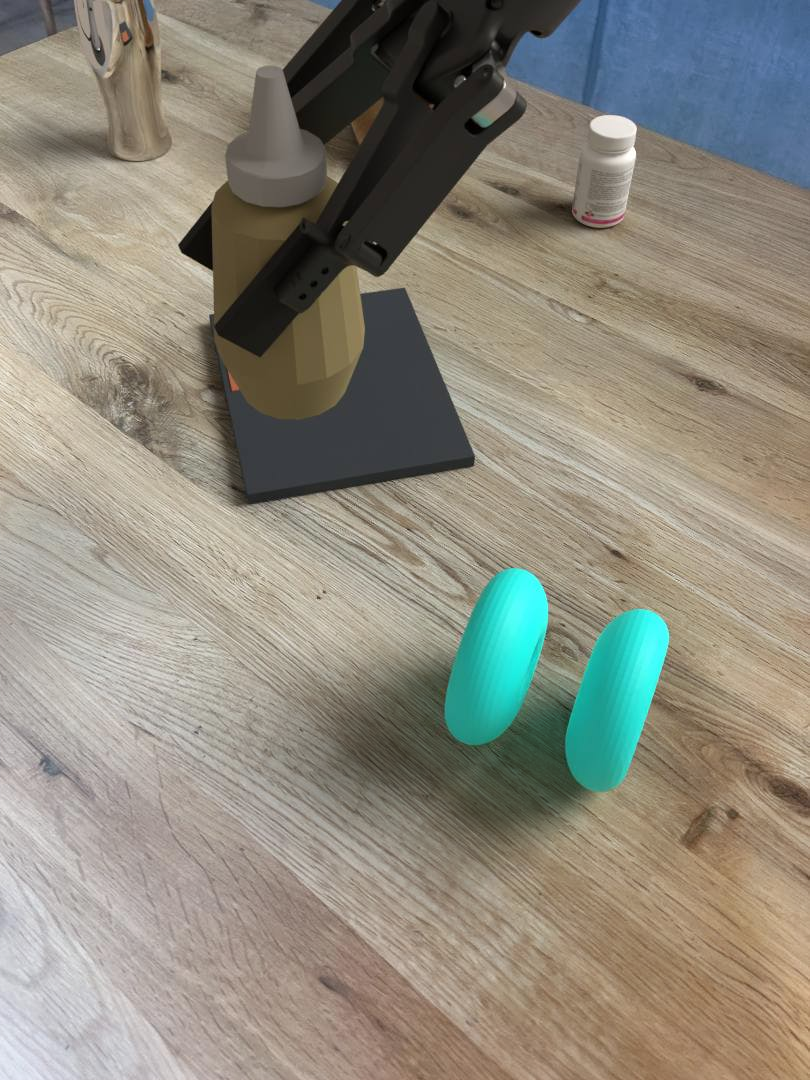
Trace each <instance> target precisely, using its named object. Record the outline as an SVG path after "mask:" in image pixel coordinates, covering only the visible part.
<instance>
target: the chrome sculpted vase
mask: <svg viewBox="0 0 810 1080" xmlns="http://www.w3.org/2000/svg"><path fill="white" fill-rule="evenodd" d="M73 6H74V14H75V21H76V25H77V26H76V27H77V31H78V36H79V41H80V45H81V49H82V52H83V55H84V58H85V61H86V64H87V67H88V69H89V71H90V74H91V77H92V79H93V82H94V85H95V87H96V89H97V92H98V94H99V97H100V99H101V103H102V105H103V110H104V113H105V118H106V126H107V127H106V128H107V133H106V135H107V149H108V151H109V152H110V154H111V155H113V156H114V157H115V158H118V159H120V160H123V161H129V162H144V161H150V160H154V159H157V158H160V157H162V156H163V155H165V154H167V152H169V150H170V149H171V147H172V145H173V137H172V135H171V132H170V129H169V126H168V124H167V121H166V118H165V114H164V110H163V101H162V44H161V43H162V41H161V33H160V26H159V21H158V16H157V11H156V7H155V6H156V5H155V3H154V0H73Z"/></svg>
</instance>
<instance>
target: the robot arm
mask: <svg viewBox="0 0 810 1080" xmlns="http://www.w3.org/2000/svg"><path fill="white" fill-rule="evenodd" d="M581 2H582V0H340V1H339V2H338V4H337V5H336V6H335V7H334V8H333V9H332V10H331V12H330V13H329V14H328V15H327V16H326V17H325V19H324V20H323V22H321V24H320V25H319V26H318V27H317V28H316V29H315V31H314V32H313V33H312V34H311V36H309V38H308V39H307V40H306V42H304V44H303V45H302V46H301V47H300V48H299V49H298V51H297V52H296V53H295V54H294V55H293V57H291V59H290V60H289V61H288V62H287V64H286V65H285V66H284V67H283V68H282V70H283V73H284V76H285V80H286V83H287V87H288V90H289V94H290V97H291V101H292V104H293V108H294V111H295V114H296V118H297V121H298V125H299V128H300V129H302V130H306V131H308V132H310V133H311V134H313V135H315V136H316V137H318V138H319V139H320V140H321V141H322V143H323V145H324V146H325V145H326V144H328V143H329V142H330V141H331V140H333V139H334V138H335V137H337V136H338V135H339V134H340V133H341V132H342V131H343V130H345V129H346V128H347V127H349V126H350V125H351V123H352V122H353V121H354V120H355V119H357V118H358V117H359V116H360V115H362V114H363V113H364V112H365V111H366V110H368V109H369V108H370V107H371V106H373V105H374V104H375V103H376V102H377V101H379V100H380V99H381V98H382V97H383V99H384V103H383V105H382V107H381V109H380V111H379V112H378V114H377V116H376V118H375V119H374V121H373V123H372V125H371V127H370V128H369V130H368V132H367V134H366V135H365V137H364V139H363V141H362V142H361V144H360V145H359V146H358V147H357V150H356V151H355V153H354V155H353V157H352V158H351V160H350V161H349V164H348V165H347V167H346V169H345V170H344V172H343V174H342V176H341V178H340V179H339V181H338V185H337V187H336V188H335V190H334V192H333V194H332V195H331V197H330V199H329V201H328V202H327V204H326V206H325V208H324V210H323V211H322V213H321V215H320V217H319V218H318V220H317V222H316V224H315V223H313V222H311V221H309V220H307V219H305V218H302V220H301V223H300V224H299V225H298V226H297V227H296V229H295V230H294V231H293V232H292V233H291V235H290V236H289V237H288V238H287V239H286V241H285V242H284V243H283V244H282V245H281V247H280V248H279V249H278V250H277V251H276V253H275V254H274V255H273V256H272V257H271V258H270V260H269V261H268V262H267V263H266V264H265V266H264V267H263V268H262V269H261V270H260V272H259V273H258V274H257V275H256V276H255V278H254V279H253V280H252V281H251V282H250V284H249V285H248V286H247V287H246V288H245V290H244V291H243V292H242V293H241V294H240V295H239V297H238V298H237V299H236V300H235V301H234V303H233V304H232V305H231V306H230V307H229V309H228V310H227V311H226V312H225V313H224V315H223V316H222V317H221V318H220V319H219V321H218V322H217V323H216V324H215V325H214V327H215V330H216V332H217V334H218V336H220V337H222V338H224V339H226V340H228V341H230V342H232V343H234V344H235V345H237V346H239V347H241V348H243V349H245V350H247V351H249V352H251V353H252V354H254V355H256V356H258V357H261V356H262V355H263V354H264V353H265V352H266V351H267V349H268V348H269V347H270V346H271V345H272V344H273V343H274V341H275V340H276V339H277V338H278V337H279V336H280V335H281V333H282V332H283V331H284V330H285V329H286V328H287V327H288V325H289V324H290V323H291V322H292V321H293V320H294V319H295V317H296V316H297V315H298V314H299V313H300V314H301V313H303V312H304V311H306V310H307V309H309V308H310V307H311V306H312V304H313V303H314V302H315V301H316V299H318V298H319V296H320V295H321V294H322V292H324V291H325V290H326V288H327V287H328V286H329V285H330V284H331V283H332V282H333V280H334V279H335V278H336V277H337V276H338V275H339V274H340V272H341V271H342V270H343V269H345V268H346V267H348V266H352V265H354V266H357V268H359V269H361V270H363V271H365V272H367V273H368V274H370V275H372V276H373V277H375V278H379V277H381V276H383V275H385V274H386V273H387V271H388V270H389V269H390V268H391V267H392V265H393V264H394V263H395V261H396V260H398V258H399V257H400V255H401V253H403V252H404V250H405V249H406V248H407V246H408V245H409V244H410V243H411V241H413V239H414V238H415V237H416V235H417V234H418V233H419V231H420V230H421V229H422V228H423V226H424V225H425V224H426V223H427V221H429V219H430V218H431V217H432V215H433V214H434V213H435V211H436V210H437V209H438V208H439V207H440V205H441V204H442V203H443V202H444V200H445V199H446V198H447V196H448V195H449V194H450V193H451V191H452V190H453V189H454V188H455V186H456V185H457V184H458V183H459V181H460V180H461V179H462V178H463V177H464V175H465V174H466V173H467V171H468V170H469V169H470V168H471V166H472V165H473V164H474V163H475V161H477V159H478V158H479V156H480V155H481V154H482V153H483V152H484V150H485V149H486V148H487V146H489V145H490V144H491V143H492V142H494V141H495V140H496V139H497V138H498V137H500V136H501V135H502V134H503V133H504V132H506V131H507V130H508V129H509V128H511V127H512V126H513V125H514V124H516V123H517V122H519V120H520V119H521V118H522V117H523V116H524V114H525V112H526V111H527V107H528V103H527V102H528V101H526V99H525V98H524V97H523V95H521V93H519V92H518V91H517V89H516V88H515V87H514V86H513V85H512V84H511V83H510V79H509V77H508V74H507V72H506V67H507V66H508V64H509V62H510V60H511V58H512V55H513V53H514V51H515V49H516V47H517V45H518V44H519V42H520V41H521V40H522V38H523V37H524V35H526V34H527V33H530V34H531V35H532V36H534V37H535V38H537V39H547V38H549V37H550V36H552V35H553V34H554V33H555V31H556V30H557V29H558V28H559V27H560V26H561V25H562V24H563V22H564V21H565V20H566V19H567V17H568V16H569V15H570V14H572V12H573V11H574V9H576V7H578V5H579V4H580V3H581ZM430 104H434V106H433V108H432V109H431V108H430V107H429V105H430ZM212 203H213V200H212V201H211V203H209V205H208V206H207V208H206V209H205V210H204V211H203V212H202V214H201V215H200V216H199V218H198V219H197V220H196V221H195V223H194V224H193V225H192V226H191V228H190V229H189V230H188V231H187V233H186V234H185V235H184V236H183V237H182V239H181V240H180V241H179V242H178V244H177V246H178V248H179V251H180V253H181V254H183V255H184V256H186V257H187V258H189V259H191V260H193V261H194V262H196V263H198V264H199V265H201V266H203V267H205V268H206V269H208V270H210V271H212V272H213V250H212ZM346 221H348V222H347V224H346V225H345V226H343V224H344V222H346Z"/></svg>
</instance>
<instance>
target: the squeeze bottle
mask: <svg viewBox="0 0 810 1080" xmlns="http://www.w3.org/2000/svg"><path fill="white" fill-rule="evenodd" d="M253 85H254V86H253V93H252V100H251V110H250V116H249V125H248V130H247V131H245V132H243V133H240V134H238V135H237V136H236V137H235V138H233V140H232V141H230V142H229V143H228V144H227V148H226V150H225V154H224V159H225V167H226V175H227V181H225V183H223V184H222V185H221V186H220V187H219V188H218V189H217V190H216V191H215V192H214V196H213V200H212V201H213V203H212V202H211V203H212V250H213V271H212V284H213V285H212V286H213V287H212V288H213V289H212V290H213V291H212V292H213V314H214V325H215V324H216V323H217V322H218V321H219V319H220V318H221V317H222V316H223V315H224V313H225V312H226V311H227V310H228V309H229V307H230V306H231V305H232V304H233V303H234V301H235V300H236V299H237V298H238V297H239V295H240V294H241V293H242V292H243V291H244V290H245V288H246V287H247V286H248V285H249V284H250V282H251V281H252V280H253V279H254V278H255V276H256V275H257V274H258V273H259V272H260V270H261V269H262V268H263V267H264V266H265V264H266V263H267V262H268V261H269V260H270V258H271V257H272V256H273V255H274V254H275V253H276V251H277V250H278V249H279V248H280V247H281V245H282V244H283V243H284V242H285V241H286V239H287V238H288V237H289V236H290V235H291V233H292V232H293V231H294V230H295V229H296V227H297V226H298V225H299V224H300V223H301V220H302V218H305V219H307V220H309V221H311V222H313V223H315V224H316V222H317V220H318V218H319V217H320V215H321V213H322V211H323V210H324V208H325V206H326V204H327V202H328V201H329V199H330V197H331V195H332V194H333V192H334V190H335V188H336V187H337V185H338V183H339V181H338V182H337V181H336V180H334V179H332V178H331V177H330V176H328V162H327V160H328V159H327V148H326V146H325V145H323V143H322V141H321V140H320V139H319V138H318V137H316V136H315V135H313V134H311V133H310V132H308V131H306V130H302V129H300V128H299V125H298V121H297V118H296V114H295V111H294V108H293V104H292V101H291V97H290V94H289V90H288V87H287V83H286V80H285V76H284V73H283V68H281V67H279V66H276V65H269V64H267V65H263V66H259V68H257V69H256V71H255V77H254V84H253ZM347 222H348V221H346V222H344V224H343V226H345V225H346V224H347ZM359 283H360V281H359V275H358V267H357V266H354V265H352V266H348V267H346V268H345V269H343V270H342V271H341V272H340V274H339V275H338V276H337V277H336V278H335V279H334V280H333V282H332V283H331V284H330V285H329V286H328V287H327V288H326V290H325V291H324V292H322V294H321V295H320V296H319V298H318V299H316V301H315V302H314V303H313V304H312V306H311V307H310V308H309V309H307V310H306V311H304V312H303V313H301V314H300V313H299V314H298V315H297V316H296V317H295V319H294V320H293V321H292V322H291V323H290V324H289V325H288V327H287V328H286V329H285V330H284V331H283V332H282V333H281V335H280V336H279V337H278V338H277V339H276V340H275V341H274V343H273V344H272V345H271V346H270V347H269V348H268V349H267V351H266V352H265V353H264V354H263V355H262V356H261V357H258V356H256V355H254V354H252V353H251V352H249V351H247V350H245V349H243V348H241V347H239V346H237V345H235V344H234V343H232V342H230V341H228V340H226V339H224V338H222V337H220V336H218V334H217V332H216V330H215V327H214V338H215V344H216V347H217V349H218V352H219V354H220V357H221V359H222V361H223V363H224V365H225V366H226V368H227V370H228V371H229V373H230V375H231V376H232V378H233V380H234V381H235V383H236V385H237V386H238V388H239V390H240V391H241V393H242V395H243V396H244V398H245V400H246V401H247V402H248V403H249V404H250V405H251V406H252V407H254V408H255V409H256V410H257V411H259V412H260V413H263V414H266V415H269V416H271V417H274V418H277V419H296V420H300V419H304V418H308V417H313V416H317V415H320V414H322V413H323V412H325V411H327V410H329V409H330V408H332V407H334V406H335V405H336V404H337V403H338V401H339V400H340V399H341V397H342V396H343V395H344V393H345V391H346V389H347V386H348V384H349V381H350V379H351V377H352V374H353V372H354V369H355V367H356V364H357V362H358V359H359V357H360V354H361V352H362V349H363V345H364V334H365V325H364V318H363V311H362V303H361V296H360V294H361V289H360V284H359ZM215 344H214V345H215Z"/></svg>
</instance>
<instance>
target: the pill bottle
mask: <svg viewBox="0 0 810 1080" xmlns="http://www.w3.org/2000/svg"><path fill="white" fill-rule="evenodd" d="M636 137H637V125H636V123H634V121H632V120H630V119H629V118H627V117H624V116H621V115H614V114H606V115H605V114H604V115H600V116H596V117H594V118H593V119H592V120H591V121H590V122H589V125H588V130H587V138H586V140H587V141H585V142H584V143H583V145H582V146H581V149H580V153H579V158H578V165H577V166H578V167H577V173H576V179H575V185H574V192H573V198H572V205H571V213H572V216H573V217H574V218H575V220H576V221H578V222H579V223H581V224H583V225H585V226H588V227H591V228H597V229H604V228H610V227H615V226H617V225H618V224H620V223H621V222H622V221H623V220H624V217H625V215H626V210H627V205H628V204H627V203H628V200H629V194H630V190H631V183H632V178H633V174H634V170H635V164H636V160H637V152H636V149H635V143H636Z"/></svg>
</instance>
